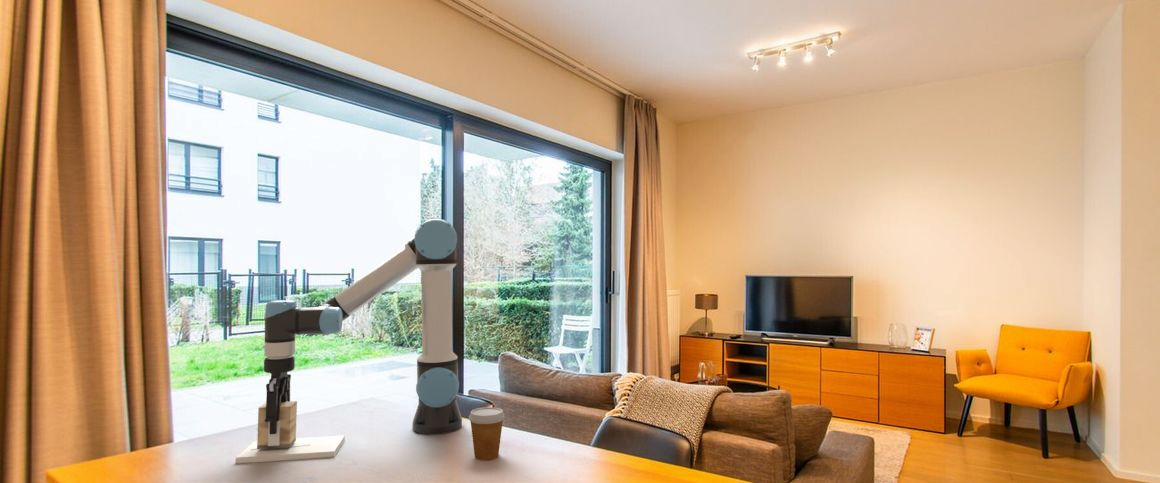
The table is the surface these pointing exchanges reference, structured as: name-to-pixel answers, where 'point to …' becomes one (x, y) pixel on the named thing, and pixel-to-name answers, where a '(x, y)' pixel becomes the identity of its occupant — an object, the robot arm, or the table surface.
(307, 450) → the board
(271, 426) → the robot arm
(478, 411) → the disposable coffee cup
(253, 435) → the table surface
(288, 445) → the block
